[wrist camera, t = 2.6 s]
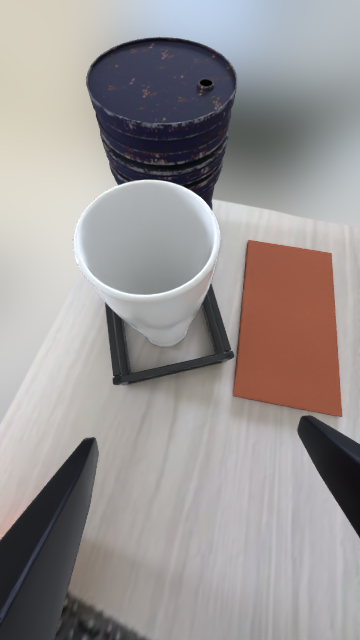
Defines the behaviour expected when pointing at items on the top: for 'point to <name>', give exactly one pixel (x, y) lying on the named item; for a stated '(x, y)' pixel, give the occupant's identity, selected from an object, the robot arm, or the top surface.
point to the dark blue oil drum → (164, 111)
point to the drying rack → (123, 368)
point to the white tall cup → (149, 255)
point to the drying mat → (288, 330)
